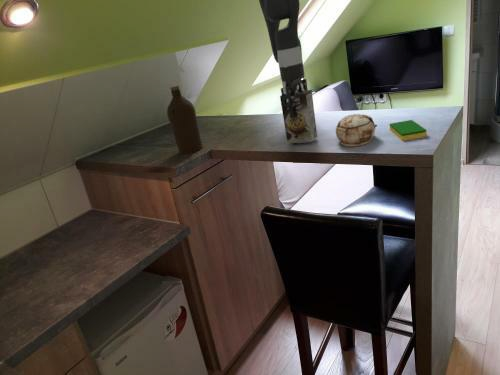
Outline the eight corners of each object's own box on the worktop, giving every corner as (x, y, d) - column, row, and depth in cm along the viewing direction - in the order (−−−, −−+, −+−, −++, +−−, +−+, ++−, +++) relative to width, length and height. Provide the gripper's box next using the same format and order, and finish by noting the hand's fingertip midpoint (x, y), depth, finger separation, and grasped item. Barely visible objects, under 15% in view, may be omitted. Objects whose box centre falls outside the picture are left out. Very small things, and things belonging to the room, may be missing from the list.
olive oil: (205, 150, 150) (188, 84, 141) (178, 156, 149) (159, 90, 140) (203, 144, 160) (188, 82, 151) (177, 150, 159) (160, 88, 150)
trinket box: (352, 150, 116) (349, 124, 113) (325, 141, 130) (322, 118, 127) (389, 138, 120) (387, 112, 117) (358, 131, 133) (356, 108, 130)
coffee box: (286, 143, 132) (278, 96, 127) (293, 137, 138) (286, 91, 132) (312, 142, 128) (305, 93, 122) (318, 136, 133) (311, 88, 127)
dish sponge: (401, 142, 115) (401, 134, 114) (389, 130, 128) (389, 123, 127) (427, 137, 114) (426, 129, 113) (412, 126, 127) (411, 119, 126)
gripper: (290, 61, 131) (298, 109, 137) (269, 69, 120) (278, 121, 126) (311, 57, 127) (317, 108, 133) (290, 65, 116) (299, 120, 122)
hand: (298, 114), depth 130 cm, fingers closed on coffee box, 6 cm apart
